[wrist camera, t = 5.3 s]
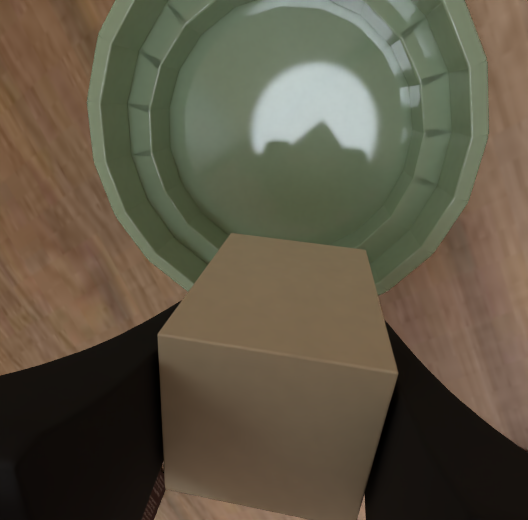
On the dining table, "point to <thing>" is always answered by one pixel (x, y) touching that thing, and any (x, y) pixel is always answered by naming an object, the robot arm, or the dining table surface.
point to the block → (277, 379)
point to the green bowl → (288, 125)
